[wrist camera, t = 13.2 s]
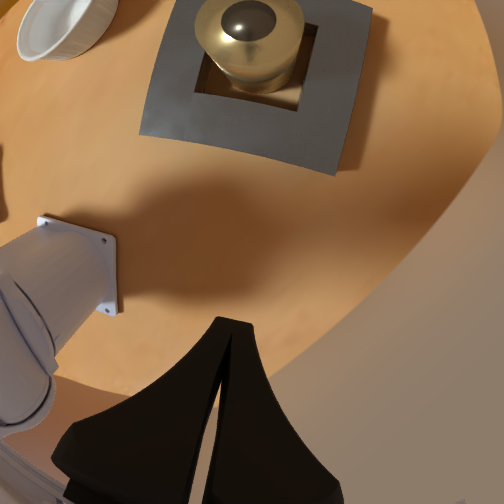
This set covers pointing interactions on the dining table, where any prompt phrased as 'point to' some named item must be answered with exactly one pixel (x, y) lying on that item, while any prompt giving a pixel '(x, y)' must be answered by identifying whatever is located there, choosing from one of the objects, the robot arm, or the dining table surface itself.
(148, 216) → the dining table surface
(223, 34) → the bushing
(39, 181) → the dining table surface
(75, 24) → the ramekin
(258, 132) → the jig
